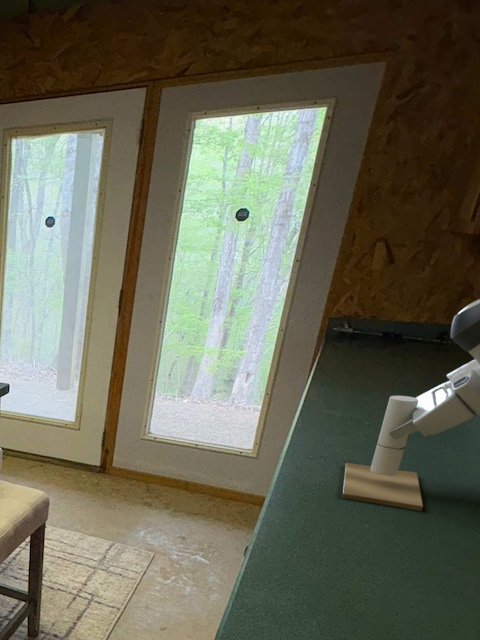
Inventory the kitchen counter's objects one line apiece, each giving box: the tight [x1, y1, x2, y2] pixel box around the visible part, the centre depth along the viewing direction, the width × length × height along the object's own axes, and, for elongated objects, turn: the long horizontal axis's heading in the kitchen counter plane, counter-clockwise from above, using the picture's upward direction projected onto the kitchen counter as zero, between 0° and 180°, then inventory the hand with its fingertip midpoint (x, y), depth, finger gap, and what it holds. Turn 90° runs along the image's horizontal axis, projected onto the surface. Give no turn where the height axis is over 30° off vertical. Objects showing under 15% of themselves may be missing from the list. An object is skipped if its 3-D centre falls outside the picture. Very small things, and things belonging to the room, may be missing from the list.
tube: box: [370, 395, 418, 476], centre depth 121 cm, size 4×4×15 cm
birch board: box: [341, 462, 424, 512], centre depth 125 cm, size 20×12×1 cm, turn 144°
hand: (391, 432), depth 121 cm, fingers closed on tube, 4 cm apart
